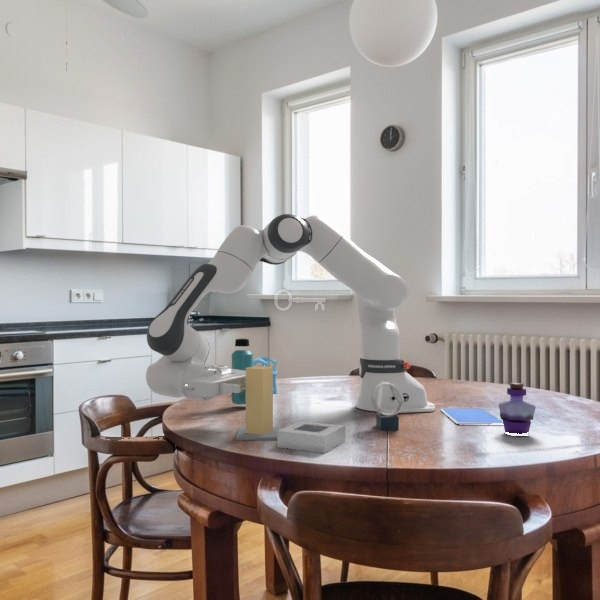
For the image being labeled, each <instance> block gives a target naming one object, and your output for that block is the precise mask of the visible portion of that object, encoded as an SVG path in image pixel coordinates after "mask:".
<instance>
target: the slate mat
mask: <svg viewBox="0 0 600 600" xmlns="http://www.w3.org/2000/svg"><path fill="white" fill-rule="evenodd" d="M280 429H282V426H273V431H271V432H269V433H267V434H264V435H258V434H251V433H246V426H240V427H239V428H238V430H237V433H236V435H235V440H236V441H243V440H244V441H246V440H247V441H252V440H253V441H264V440H265V441H274V440H276V441H277V431H278V430H280Z"/></svg>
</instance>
